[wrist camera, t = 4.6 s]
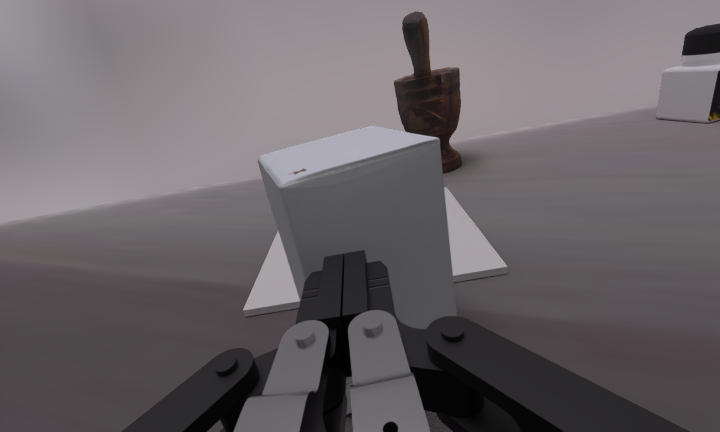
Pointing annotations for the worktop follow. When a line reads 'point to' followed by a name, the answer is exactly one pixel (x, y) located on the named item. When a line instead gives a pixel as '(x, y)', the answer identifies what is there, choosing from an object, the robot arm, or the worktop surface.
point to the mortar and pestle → (428, 93)
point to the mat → (467, 259)
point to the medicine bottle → (693, 80)
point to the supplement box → (368, 213)
